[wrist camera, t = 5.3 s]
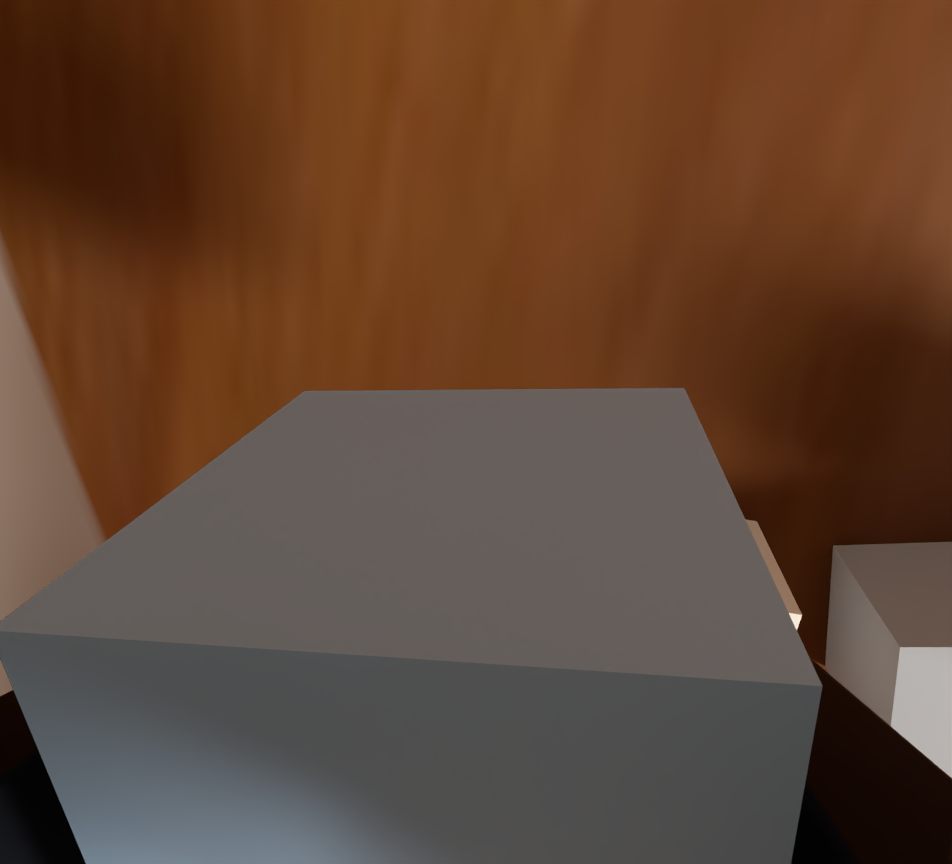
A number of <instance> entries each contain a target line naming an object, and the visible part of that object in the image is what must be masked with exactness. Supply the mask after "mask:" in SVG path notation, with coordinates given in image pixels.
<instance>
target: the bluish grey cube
mask: <svg viewBox="0 0 952 864" xmlns="http://www.w3.org/2000/svg"><path fill="white" fill-rule="evenodd" d="M0 659H1V662H2V664H3V666H4V669H5V671H6V673H7V676H8V678H9V681H10V683H11V686H12V688H13V690H14V693H15V695H16V698H17V700H18V702H19V705H20V707H21V710H22V712H23V714H24V717H25V719H26V722H27V724H28V726H29V729H30V731H31V733H32V736H33V738H34V741H35V743H36V745H37V748H38V750H39V753H40V755H41V757H42V760H43V762H44V765H45V767H46V769H47V772H48V774H49V777H50V779H51V781H52V784H53V786H54V789H55V791H56V793H57V796H58V798H59V801H60V803H61V805H62V808H63V810H64V812H65V815H66V817H67V820H68V822H69V824H70V827H71V829H72V832H73V834H74V836H75V839H76V841H77V844H78V846H79V848H80V851H81V853H82V856H83V858H84V860H85V863H86V864H791V860H792V855H793V849H794V844H795V838H796V832H797V827H798V821H799V815H800V810H801V804H802V799H803V793H804V787H805V782H806V776H807V771H808V765H809V759H810V754H811V748H812V742H813V737H814V731H815V726H816V720H817V714H818V709H819V703H820V697H821V692H822V684H821V682H820V680H819V677H818V675H817V673H816V671H815V669H814V667H813V665H812V662H811V660H810V658H809V656H808V654H807V652H806V649H805V647H804V645H803V643H802V641H801V639H800V636H799V634H798V632H797V630H796V628H795V626H794V624H793V621H792V619H791V617H790V615H789V613H788V611H787V608H786V606H785V604H784V602H783V600H782V598H781V595H780V593H779V591H778V589H777V587H776V585H775V582H774V580H773V578H772V576H771V574H770V572H769V570H768V567H767V565H766V563H765V561H764V559H763V557H762V554H761V552H760V550H759V548H758V546H757V544H756V541H755V539H754V537H753V535H752V533H751V531H750V529H749V526H748V524H747V522H746V520H745V518H744V516H743V513H742V511H741V509H740V507H739V505H738V503H737V500H736V498H735V496H734V494H733V492H732V490H731V488H730V485H729V483H728V481H727V479H726V477H725V475H724V472H723V470H722V468H721V466H720V464H719V462H718V459H717V457H716V455H715V453H714V451H713V449H712V447H711V444H710V442H709V440H708V438H707V436H706V434H705V431H704V429H703V427H702V425H701V423H700V421H699V418H698V416H697V414H696V412H695V410H694V408H693V406H692V403H691V401H690V399H689V397H688V395H687V393H686V390H685V388H617V389H495V390H373V391H304V392H303V393H301V394H300V395H299V396H297V397H296V398H295V399H293V400H292V401H291V402H289V403H288V404H287V405H285V406H284V407H283V408H281V409H280V410H279V411H277V412H276V413H275V414H273V415H272V416H271V417H269V418H268V419H267V420H266V421H264V422H263V423H262V424H260V425H259V426H258V427H256V428H255V429H254V430H252V431H251V432H250V433H248V434H247V435H246V436H244V437H243V438H242V439H240V440H239V441H238V442H236V443H235V444H234V445H233V446H231V447H230V448H229V449H227V450H226V451H225V452H223V453H222V454H221V455H219V456H218V457H217V458H215V459H214V460H213V461H211V462H210V463H209V464H207V465H206V466H205V467H203V468H202V469H201V470H199V471H198V472H197V473H196V474H194V475H193V476H192V477H190V478H189V479H188V480H186V481H185V482H184V483H182V484H181V485H180V486H178V487H177V488H176V489H174V490H173V491H172V492H170V493H169V494H168V495H166V496H165V497H164V498H163V499H161V500H160V501H159V502H157V503H156V504H155V505H153V506H152V507H151V508H149V509H148V510H147V511H145V512H144V513H143V514H141V515H140V516H139V517H137V518H136V519H135V520H133V521H132V522H131V523H130V524H128V525H127V526H126V527H124V528H123V529H122V530H120V531H119V532H118V533H116V534H115V535H114V536H112V537H111V538H110V539H108V540H107V541H106V542H104V543H103V544H102V545H100V546H99V547H98V548H96V549H95V550H94V551H93V552H91V553H90V554H89V555H87V556H86V557H85V558H84V559H82V560H81V561H79V562H78V563H77V564H75V565H74V566H73V567H71V568H70V569H69V570H68V571H66V572H65V573H64V574H62V575H61V576H60V577H58V578H57V579H56V580H54V581H53V582H52V583H50V584H49V585H48V586H46V587H45V588H44V589H43V590H41V591H40V592H38V593H37V594H36V595H34V596H33V597H32V598H31V599H29V600H28V601H27V602H25V603H24V604H23V605H21V606H20V607H19V608H17V609H16V610H15V611H13V612H12V613H11V614H9V615H8V616H7V617H5V618H4V619H3V620H1V621H0Z"/></svg>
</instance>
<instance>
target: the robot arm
mask: <svg viewBox="0 0 952 864" xmlns="http://www.w3.org/2000/svg"><path fill="white" fill-rule="evenodd" d="M809 658H810V657H809ZM810 660H811V662H812V665H813V667H814V669H815V671H816V673H817V675H818V677H819V680H820V682H821V684H822V692H821V697H820V703H819V709H818V714H817V720H816V726H815V731H814V737H813V742H812V748H811V754H810V759H809V765H808V771H807V776H806V782H805V787H804V793H803V799H802V804H801V810H800V815H799V821H798V827H797V832H796V838H795V844H794V849H793V855H792V860H791V864H952V778H951V777H950V776H949V775H947V774H946V773H945V772H944V771H943V770H942V769H940V768H939V767H938V766H937V765H936V764H935V763H933V762H932V761H931V760H930V759H929V758H927V757H926V756H925V755H924V754H923V753H922V752H920V751H919V750H918V749H917V748H916V747H915V746H913V745H912V744H911V743H910V742H909V741H908V740H906V739H905V738H904V737H903V736H902V735H900V734H899V733H898V732H897V731H896V730H895V729H893V728H892V727H891V726H890V725H889V724H888V723H886V722H885V721H884V720H883V719H882V718H880V717H879V716H878V715H877V714H876V713H875V712H873V711H872V710H871V709H870V708H869V707H868V706H866V705H865V704H864V703H863V702H862V701H860V700H859V699H858V698H857V697H856V696H855V695H853V694H852V693H851V692H850V691H849V690H848V689H846V688H845V687H844V686H843V685H842V684H840V683H839V682H838V681H837V680H836V679H835V678H833V677H832V676H831V675H830V674H829V673H828V672H826V671H825V670H824V669H823V668H822V667H820V666H819V665H818V664H817V663H816V662H815V661H813V660H812V659H811V658H810ZM0 864H86V863H85V860H84V858H83V856H82V853H81V851H80V848H79V846H78V844H77V841H76V839H75V836H74V834H73V832H72V829H71V827H70V824H69V822H68V820H67V817H66V815H65V812H64V810H63V808H62V805H61V803H60V801H59V798H58V796H57V793H56V791H55V789H54V786H53V784H52V781H51V779H50V777H49V774H48V772H47V769H46V767H45V765H44V762H43V760H42V757H41V755H40V753H39V750H38V748H37V745H36V743H35V741H34V738H33V736H32V733H31V731H30V729H29V726H28V724H27V722H26V719H25V717H24V714H23V712H22V710H21V707H20V705H19V702H18V700H17V698H16V695H15V693H14V690H12V691H10V692H8V693H6V694H4V695H2V696H0Z"/></svg>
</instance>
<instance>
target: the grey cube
mask: <svg viewBox="0 0 952 864" xmlns="http://www.w3.org/2000/svg"><path fill="white" fill-rule="evenodd" d="M825 667H826V669H827V671H828V673H829V674H830V675H831V676H832V677H833V678H835V679H836V680H837V681H838V682H839V683H840V684H842V685H843V686H844V687H845V688H846V689H848V690H849V691H850V692H851V693H852V694H853V695H855V696H856V697H857V698H858V699H859V700H860V701H862V702H863V703H864V704H865V705H866V706H868V707H869V708H870V709H871V710H872V711H873V712H875V713H876V714H877V715H878V716H879V717H880V718H882V719H883V720H884V721H885V722H886V723H888V724H889V725H890V726H891V727H892V728H893V729H895V730H896V731H897V732H898V733H899V734H900V735H902V736H903V737H904V738H905V739H906V740H908V741H909V742H910V743H911V744H912V745H913V746H915V747H916V748H917V749H918V750H919V751H920V752H922V753H923V754H924V755H925V756H926V757H927V758H929V759H930V760H931V761H932V762H933V763H935V764H936V765H937V766H938V767H939V768H940V769H942V770H943V771H944V772H945V773H946V774H947V775H949V776H950V777H951V778H952V542H927V543H896V544H865V545H834V546H833V555H832V570H831V585H830V600H829V615H828V630H827V645H826V660H825Z"/></svg>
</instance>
